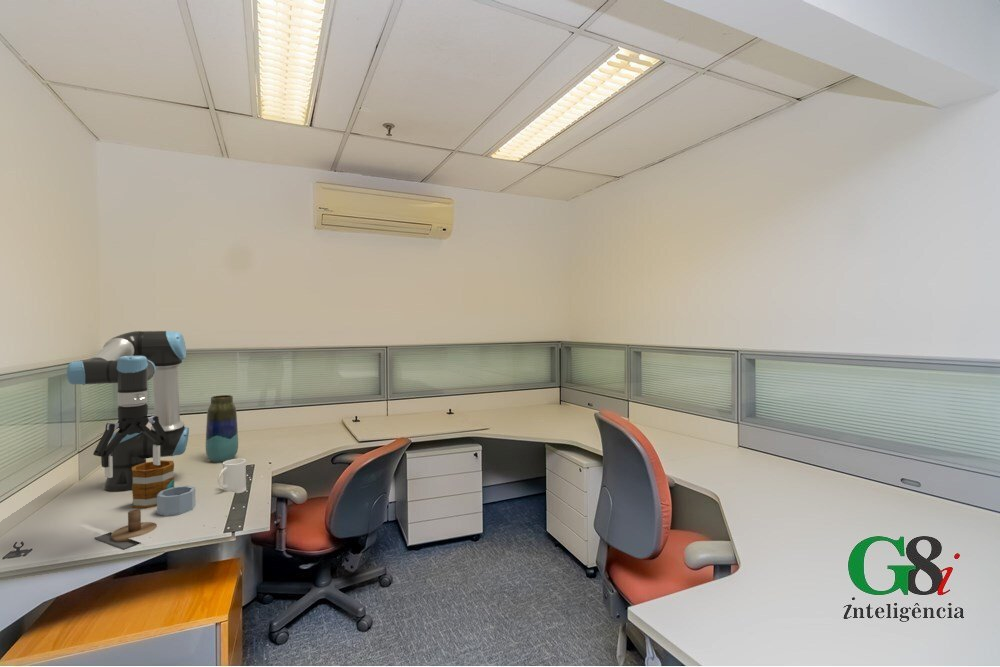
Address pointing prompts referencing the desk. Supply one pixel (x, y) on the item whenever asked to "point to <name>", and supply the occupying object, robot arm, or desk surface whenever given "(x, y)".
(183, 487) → the bowl
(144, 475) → the mug
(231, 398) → the vase
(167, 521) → the desk surface
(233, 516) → the desk surface
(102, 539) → the mat
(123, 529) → the lid
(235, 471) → the mug
